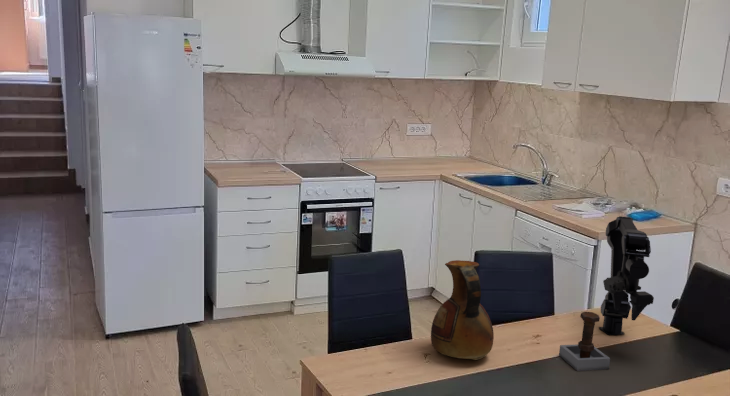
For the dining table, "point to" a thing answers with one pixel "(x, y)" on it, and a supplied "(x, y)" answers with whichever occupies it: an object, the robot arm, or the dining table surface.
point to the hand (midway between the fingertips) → (624, 315)
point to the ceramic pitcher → (463, 317)
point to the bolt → (587, 333)
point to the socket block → (593, 363)
